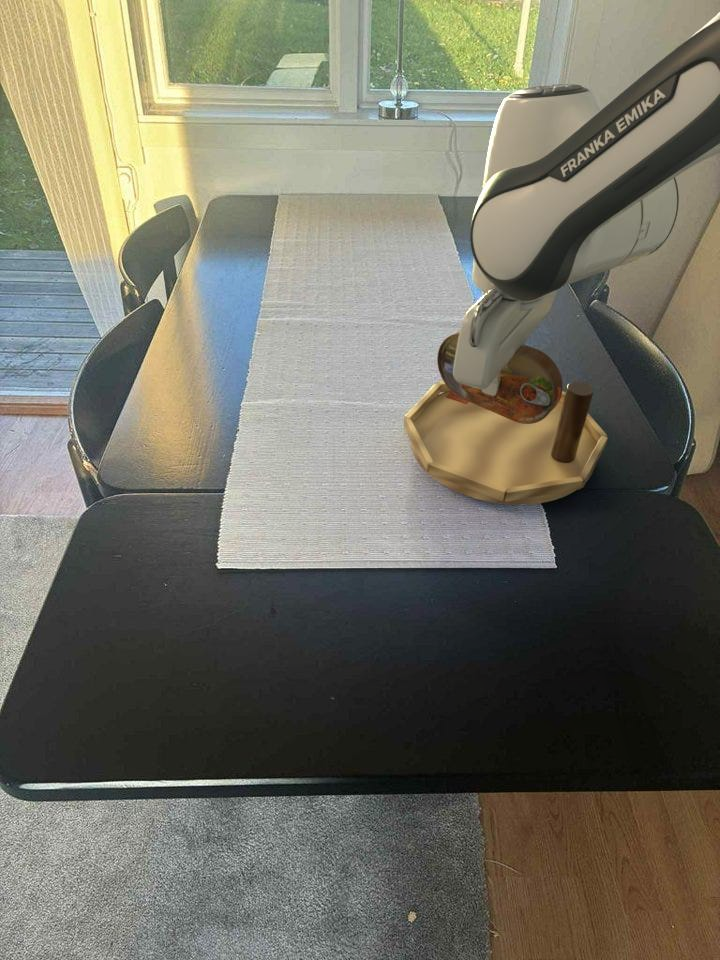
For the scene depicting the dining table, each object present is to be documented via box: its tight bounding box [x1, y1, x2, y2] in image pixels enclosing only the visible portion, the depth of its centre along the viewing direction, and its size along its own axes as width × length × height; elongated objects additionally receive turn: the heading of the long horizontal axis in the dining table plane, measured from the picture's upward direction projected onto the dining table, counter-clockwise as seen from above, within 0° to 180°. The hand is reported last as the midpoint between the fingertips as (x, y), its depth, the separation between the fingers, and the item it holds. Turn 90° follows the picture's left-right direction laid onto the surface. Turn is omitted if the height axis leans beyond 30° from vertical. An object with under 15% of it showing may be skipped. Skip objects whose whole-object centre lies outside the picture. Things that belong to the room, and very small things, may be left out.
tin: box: [436, 330, 564, 424], centre depth 78 cm, size 15×3×8 cm, turn 50°
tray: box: [403, 380, 609, 506], centre depth 88 cm, size 24×24×11 cm
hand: (497, 382), depth 79 cm, fingers closed on tin, 3 cm apart
